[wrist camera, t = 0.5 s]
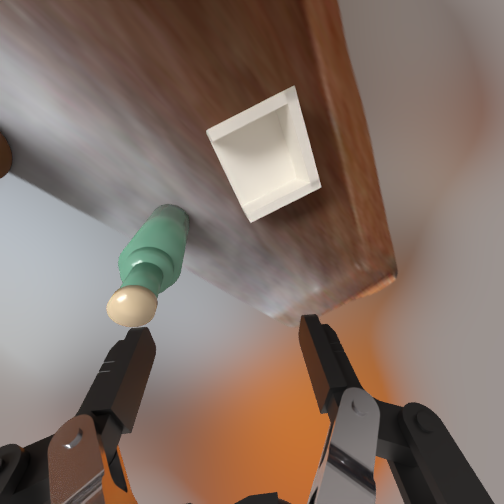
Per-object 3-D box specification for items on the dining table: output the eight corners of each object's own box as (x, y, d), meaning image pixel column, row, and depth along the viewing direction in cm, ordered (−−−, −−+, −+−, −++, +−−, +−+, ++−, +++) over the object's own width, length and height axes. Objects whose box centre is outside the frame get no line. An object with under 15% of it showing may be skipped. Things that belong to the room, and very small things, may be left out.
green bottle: (146, 206, 29) (70, 284, 13) (185, 202, 30) (162, 270, 13) (156, 241, 32) (104, 346, 15) (192, 236, 32) (180, 330, 16)
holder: (244, 212, 32) (250, 222, 28) (206, 132, 27) (206, 130, 22) (305, 181, 32) (321, 187, 28) (279, 95, 27) (294, 85, 22)
